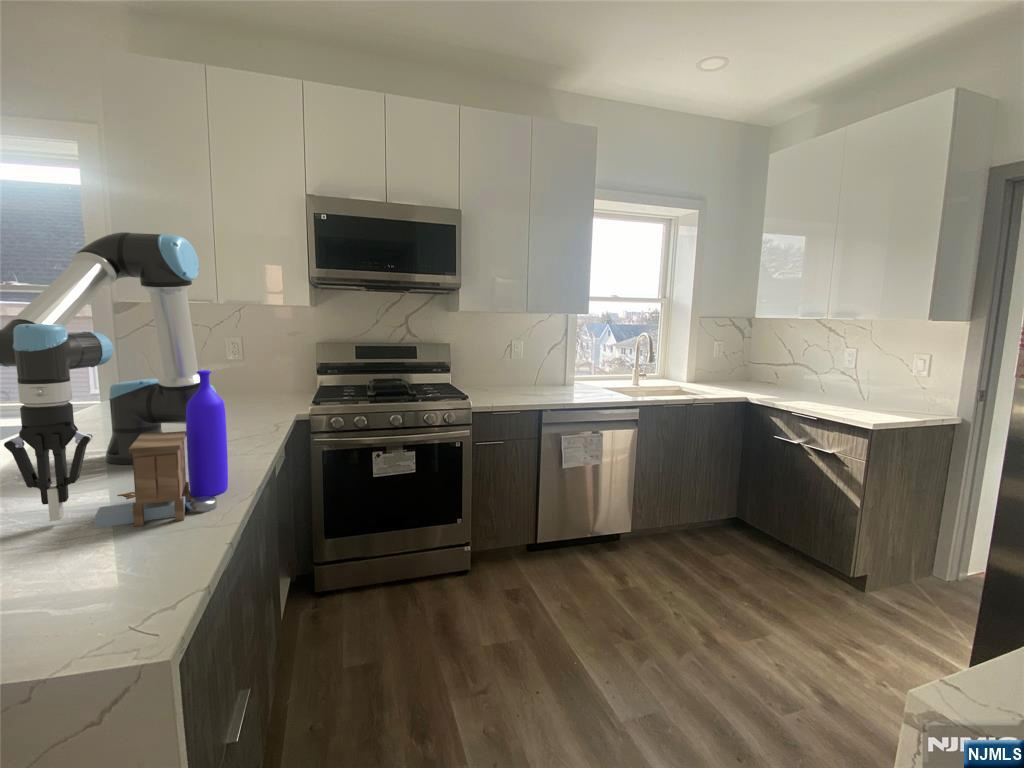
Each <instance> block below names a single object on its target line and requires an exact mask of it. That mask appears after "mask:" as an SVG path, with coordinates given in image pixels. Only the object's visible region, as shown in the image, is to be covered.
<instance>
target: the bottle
mask: <svg viewBox="0 0 1024 768" xmlns="http://www.w3.org/2000/svg"><path fill="white" fill-rule="evenodd" d="M212 371H213V370H207V369H206V370H198V371H197V373H198V374H199V376H200V386H199V389H198V390H197V391H196V392H195V393H194V395H193V396H192V397H191V398H190V399H189V401H188V402H187V405H186V424H185V429H186V430H185V431H186V453H187V454H186V455H187V470H188V473H187V474H188V482H189V493H190V494H191V496H193V497H194V498H196V497H202V496H213V497H215V496H218V495H222V494H223V493H226V492H227V490H228V487H229V470H228V469H229V465H228V435H227V417H226V407H225V402H224V400H223V399H222V398H221V396H220V395H219V394H218V393H217V392H216V393H215V392H214V391H213V390H212V389H211V387H210V385H211V384H210V374H212Z"/></svg>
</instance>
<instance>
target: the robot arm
mask: <svg viewBox="0 0 1024 768" xmlns="http://www.w3.org/2000/svg"><path fill="white" fill-rule="evenodd" d="M70 264H71V265H70V266H68V267H67V268H66V269H65V270H64V271H63V272H62V273H61V274H60V275H59V276H58V277H56V278H55V279H54V280H53V281H52V282H51V283H50V284H49V285H48V286H47V287H46V288H44V290H43V291H42V292H40V293H39V294H38V295H37V296H36V297H35V298H34V299H33V300H32V301H31V302H30V303H28V304H27V305H26V306H25V307H24V308H23V309H22V310H21V311H20V312H19V313H17V315H15V317H13V318H12V319H11V320H10V321H9V322H8V323H7V324H6V325H5V326H4V327H2V328H1V329H0V367H5V368H6V367H8V368H9V367H16V374H17V378H16V379H17V393H18V399H19V404H22V405H21V406H20V408H19V409H20V410H19V411H20V422H21V429H20V430H19V433H18V436H16V437H14V438H11V439H9V440H7V441H5V442H4V444H3V447H4V448H6V449H7V450H8V451H9V452H10V453H11V455H12V456H13V458H14V461H15V463H16V465H17V467H18V470H19V472H20V474H21V476H22V478H23V481H24V483H25V485H26V487H27V488H30V489H32V488H36V489H39V491H40V498H41V501H40V502H41V504H42V506H43V505H47V506H48V515H49V516H48V517H49V522H55V521H60V520H62V518H63V517H64V516H65V513H64V503H66V502H68V500H69V498H70V496H69V485H71V484H74V483H76V482H77V481H78V480H79V479H80V476H81V471H82V467H83V462H84V459H85V455H86V451H87V445H89V444H90V442H91V440H92V439H93V435H92V434H90V433H87V434H85V433H83V432H81V431H79V429H78V426H76V424H75V419H74V408H73V407H74V406H73V403H72V402H70V401H72V399H73V396H72V395H73V394H72V385H71V373H70V371H71V370H76V369H83V368H95V367H98V366H102V365H105V364H106V363H108V362H109V361H110V360H111V359H112V358H113V354H114V346H113V343H112V341H111V340H110V339H109V338H108V337H107V336H106V335H105V334H103V333H100V332H93V331H82V332H68V331H67V328H66V326H67V325H68V324H69V323H70V322H71V321H72V320H73V319H74V318H75V317H76V315H78V314H79V312H81V311H82V309H83V308H84V307H85V306H87V304H88V303H89V302H90V301H91V300H92V299H93V298H94V297H95V296H96V295H97V294H98V293H99V292H100V291H101V290H102V288H103V287H106V286H111V285H112V284H114V283H115V282H116V280H119V279H123V278H137V279H138V278H139V282H140V286H141V288H143V289H144V290H145V291H147V292H148V293H149V298H150V300H149V301H150V305H151V312H152V315H153V316H152V317H153V323H154V328H155V333H156V341H157V346H158V351H159V352H158V353H159V357H160V358H159V359H160V362H161V363H160V364H161V370H162V374H163V376H162V377H161V378H159V379H158V378H154V377H153V378H144V379H135V380H127V381H122V382H121V381H120V382H116V383H114V384H112V385H111V386H110V388H109V398H108V400H109V409H110V419H111V421H110V422H111V438H110V440H109V443H108V446H107V449H106V453H105V461H106V462H107V463H109V464H113V465H133V453H132V454H129V448H130V446H131V445H132V444H133V443H134V442H135V440H136V439H137V438H138V437H139V436H140V434H148V433H164V432H163V429H162V424H183V425H184V424H185V425H186V405H187V402H188V401H189V399H190V398H191V397H192V396H193V395H194V393H195V392H196V391H197V390H198V389H199V386H200V376H199V374H198V373H197V371H199V366H198V359H197V354H196V345H195V340H194V332H193V325H192V318H191V311H190V305H189V297H188V290H189V289H190V288H191V287H192V286H193V280H195V279H196V278H198V276H199V269H200V263H199V258H198V255H197V253H196V250H195V248H194V247H193V245H192V244H191V243H190V242H189V241H188V240H187V239H186V238H185V237H183V236H179V235H173V234H166V233H142V232H141V233H139V232H135V233H134V232H125V231H123V232H114V233H111V234H107V235H105V236H102V237H100V238H97V239H95V240H93V241H91V242H90V243H89V244H87V245H85V246H84V247H82V248H81V249H79V250H78V251H77V252H76V253H75V254H74V255H73V256H72V257H71V260H70ZM210 387H211V389H212V390H213V391H214V392H215V393H216V394H217V391H216V388H215V386H214V385H212V384H210ZM73 438H75V440H74V442H75V444H77V445H76V446H75V449H74V452H73V453H74V454H73V458H72V463H71V465H70V472H69V474H68V464H67V453H66V452H67V446H68V445H69V443H70V442H71V441H72V440H73ZM25 443H26V444H27V445H29V446H30V447H31V448H32V450H34V455H35V457H36V466H37V467H36V469H37V472H36V470H35V468H34V466H33V463H32V461H31V458H30V457H29V454H28V452H27V450H26V448H25ZM50 451H51V452H52V456H53V463H54V472H55V485H54V484H53V481H52V475H51V465H50ZM52 484H53V485H52Z"/></svg>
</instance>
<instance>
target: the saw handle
mask: <svg viewBox="0 0 1024 768" xmlns="http://www.w3.org/2000/svg"><path fill="white" fill-rule="evenodd" d="M117 497H124V498H125V500H129V499H133V498H134V499H135V491H130V492H126V493H121V494H117Z"/></svg>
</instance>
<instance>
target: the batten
mask: <svg viewBox="0 0 1024 768" xmlns="http://www.w3.org/2000/svg"><path fill="white" fill-rule="evenodd" d="M181 498H184V516H186V515H185V514H186V509H185V496H184V497H181ZM134 503H135V502H132V503H122V504H114V505H106V506H100V507H98V510H97V512H96V513H95V514H94V519H95V523H94V524H95V528H96V529H99V528H105V527H113V526H119V525H126V524H127V525H129V524H134V517H133V504H134ZM143 507H144V522H147V520H149V521H155V520H154V519H156V520H161V519H162V518H163V519H168V518H175V506H174V501H169V502H160V503H152V504H143ZM152 519H153V520H152Z"/></svg>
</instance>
